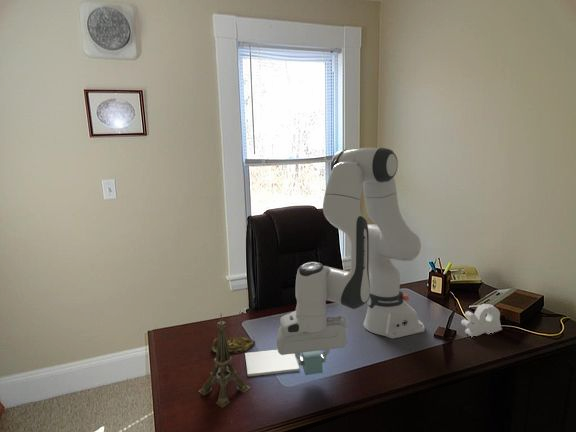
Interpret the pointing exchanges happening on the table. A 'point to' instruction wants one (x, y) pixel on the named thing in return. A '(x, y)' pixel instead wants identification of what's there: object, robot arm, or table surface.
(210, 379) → the eiffel tower
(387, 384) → the table surface
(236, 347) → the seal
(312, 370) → the cube
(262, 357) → the board
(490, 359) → the table surface
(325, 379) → the table surface
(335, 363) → the table surface
